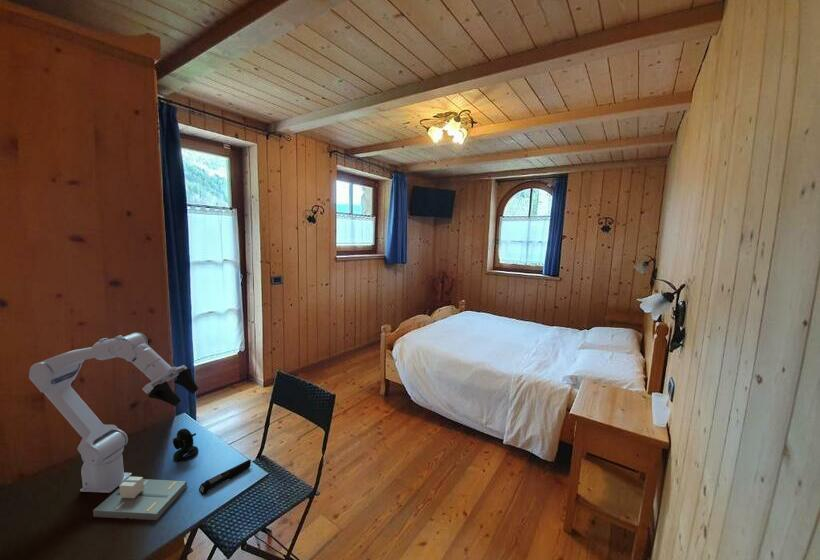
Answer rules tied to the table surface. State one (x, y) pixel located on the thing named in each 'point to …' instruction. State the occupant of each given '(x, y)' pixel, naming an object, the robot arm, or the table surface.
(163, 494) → the console
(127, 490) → the fader
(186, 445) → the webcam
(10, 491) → the table surface
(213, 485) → the electric trimmer
